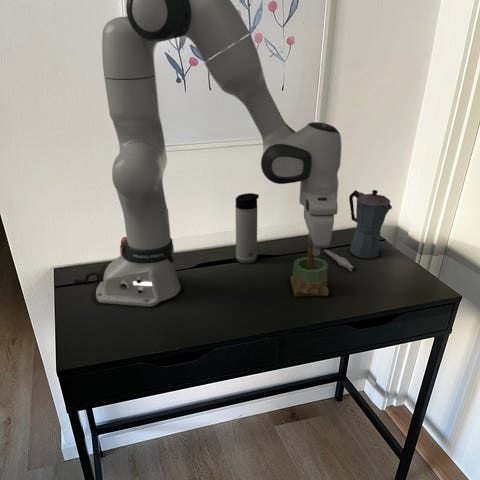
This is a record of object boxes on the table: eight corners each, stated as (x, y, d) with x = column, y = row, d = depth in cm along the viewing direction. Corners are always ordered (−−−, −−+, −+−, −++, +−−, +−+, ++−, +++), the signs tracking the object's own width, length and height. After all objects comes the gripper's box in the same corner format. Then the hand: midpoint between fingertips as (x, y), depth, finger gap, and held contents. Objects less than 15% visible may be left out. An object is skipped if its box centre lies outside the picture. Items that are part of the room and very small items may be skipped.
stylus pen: (356, 270, 149) (357, 264, 148) (348, 272, 148) (349, 266, 147) (327, 251, 160) (328, 245, 159) (320, 252, 159) (320, 247, 158)
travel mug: (256, 264, 153) (256, 198, 142) (234, 262, 154) (233, 197, 143) (259, 255, 158) (260, 191, 147) (238, 254, 159) (237, 190, 149)
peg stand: (294, 296, 136) (297, 248, 129) (290, 280, 144) (292, 234, 137) (328, 295, 137) (332, 247, 129) (322, 279, 144) (326, 233, 137)
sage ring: (294, 282, 134) (295, 271, 132) (291, 267, 141) (291, 257, 139) (330, 281, 134) (331, 271, 132) (324, 266, 141) (325, 256, 140)
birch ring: (294, 294, 134) (294, 283, 133) (291, 278, 142) (291, 268, 140) (329, 293, 134) (330, 283, 133) (324, 278, 142) (325, 268, 140)
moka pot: (374, 265, 152) (384, 199, 141) (333, 249, 161) (339, 186, 151) (393, 255, 157) (403, 191, 147) (352, 241, 167) (359, 179, 156)
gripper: (299, 182, 131) (296, 233, 138) (310, 210, 113) (306, 267, 121) (324, 182, 131) (320, 233, 138) (339, 210, 114) (333, 266, 121)
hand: (314, 249), depth 129 cm, fingers open, 5 cm apart
